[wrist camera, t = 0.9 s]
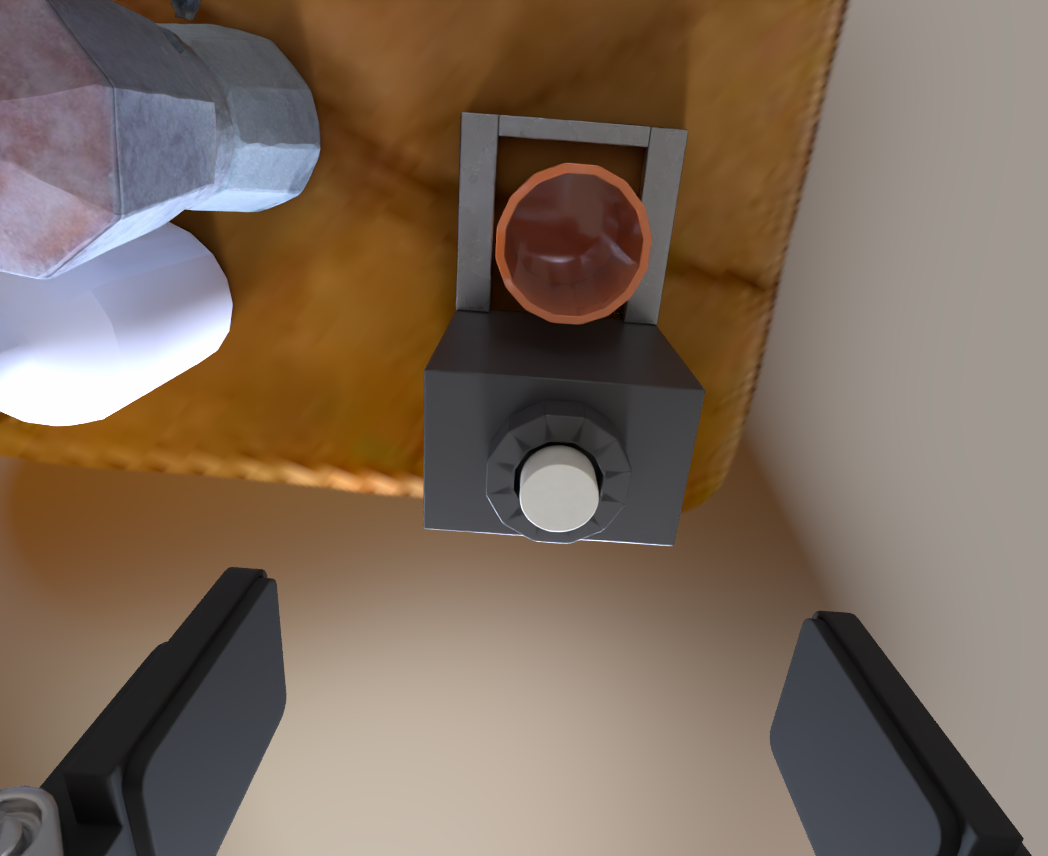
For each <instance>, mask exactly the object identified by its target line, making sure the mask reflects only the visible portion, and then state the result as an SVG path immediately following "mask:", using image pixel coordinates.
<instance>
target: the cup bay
mask: <svg viewBox="0 0 1048 856" xmlns="http://www.w3.org/2000/svg"><path fill="white" fill-rule="evenodd" d="M499 136H501V137H513V138H526V139H539V140H552V141H564V142H577V143H590V144H603V145H615V146H628V147H641V148H645V154H644V161H643V169H642V176H641V183H640V191H639V199H640V201H641V202H642V203H643V205H644V207H645V209H646V213H647V217H648V222H649V226H650V230H651V234H652V244H651V251H650V257H649V264H648V269H647V271H646V273H645V275H644V277H643V278H642V280H641V282H640V284H639V285H638V287H637V289H636V291H635V292H634V294H633V296H632V297H631V298H630V299H629V300H627V301H626V302H625V303H624V307H623V314H622V319H623V321H624V322H625V323H634V324H648V325H657V322H658V316H659V309H660V303H661V297H662V291H663V285H664V279H665V272H666V266H667V260H668V254H669V248H670V241H671V235H672V229H673V223H674V217H675V210H676V204H677V198H678V192H679V186H680V179H681V173H682V167H683V161H684V155H685V148H686V142H687V136H688V130H687V129H675V128H663V127H650V126H638V125H625V124H613V123H600V122H587V121H575V120H562V119H549V118H537V117H524V116H511V115H497V114H485V113H472V112H462V113H461V134H460V172H459V210H458V247H457V285H456V310H459V311H473V312H486V313H488V312H489V311H490V307H491V287H492V267H493V247H494V227H495V206H496V186H497V166H498V146H499Z"/></svg>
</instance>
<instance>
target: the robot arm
mask: <svg viewBox="0 0 1048 856" xmlns="http://www.w3.org/2000/svg"><path fill="white" fill-rule="evenodd" d="M281 640H282V639H281V629H280V617H279V605H278V594H277V584H276V581H275V580H274V579H270V578H267V574H266V572H265V571H264V570H263V569H249V568H237V567H230V568H228V569H227V570H226V571H225V572H224V573H223V574H222V575H221V577H220V578H219V579H218V580H217V582H216V583H215V584H214V585H213V587H212V588H211V589H210V590H209V591H208V593H207V594H206V595H205V596H204V598H203V599H202V600H201V601H200V603H199V604H198V605H197V606H196V608H195V609H194V610H193V611H192V612H191V614H190V615H189V616H188V617H187V619H186V620H185V621H184V622H183V623H182V625H181V626H180V627H179V628H178V630H177V631H176V632H175V633H174V635H173V636H172V637H171V638H170V639H169V641H168V642H164V643H162V644H160V645H158V646H157V647H156V648H155V649H154V650H153V651H152V652H151V653H150V655H149V656H148V657H147V658H146V659H145V661H144V662H143V663H142V664H141V665H140V667H139V668H138V669H137V670H136V672H135V673H134V674H133V675H132V676H131V678H130V679H129V680H128V681H127V682H126V684H125V685H124V686H123V687H122V688H121V690H120V691H119V692H118V693H117V694H116V696H115V697H114V698H113V699H112V701H111V702H110V703H109V704H108V706H107V707H106V708H105V709H104V710H103V711H102V713H101V714H100V715H99V716H98V717H97V719H96V720H95V721H94V723H93V724H92V725H91V726H90V727H89V728H88V730H87V731H86V732H85V733H84V734H83V736H82V737H81V738H80V739H79V740H78V742H77V743H76V744H75V745H74V746H73V748H72V749H71V750H70V751H69V753H68V754H67V755H66V756H65V757H64V759H63V760H62V761H61V762H60V763H59V765H58V766H57V767H56V768H55V769H54V771H53V772H52V773H51V774H50V776H49V777H48V778H47V779H46V781H45V782H44V783H43V784H42V785H41V786H40V788H36V787H30V786H21V787H12V788H4V789H1V790H0V856H216V854H217V852H218V850H219V848H220V846H221V844H222V842H223V840H224V838H225V836H226V833H227V831H228V829H229V827H230V825H231V823H232V821H233V819H234V817H235V815H236V812H237V810H238V808H239V806H240V804H241V802H242V800H243V798H244V796H245V794H246V791H247V790H248V787H249V785H250V783H251V781H252V779H253V777H254V775H255V773H256V771H257V769H258V766H259V764H260V762H261V760H262V758H263V756H264V754H265V752H266V750H267V748H268V746H269V744H270V741H271V739H272V737H273V735H274V733H275V731H276V729H277V727H278V725H279V722H280V720H281V718H282V716H283V713H284V709H285V704H286V686H285V675H284V663H283V651H282V641H281ZM770 745H771V749H772V752H773V755H774V758H775V760H776V762H777V765H778V767H779V770H780V772H781V774H782V776H783V779H784V781H785V784H786V786H787V788H788V791H789V793H790V796H791V798H792V800H793V803H794V805H795V807H796V810H797V812H798V815H799V817H800V819H801V822H802V824H803V826H804V829H805V831H806V834H807V836H808V838H809V841H810V843H811V845H812V848H813V850H814V852H815V855H816V856H1031V854H1030V853H1029V851H1028V850H1027V849H1026V847H1025V846H1024V845H1023V843H1022V841H1023V837H1022V836H1021V834H1020V833H1019V832H1018V830H1017V829H1016V828H1015V826H1014V825H1013V824H1012V822H1011V821H1010V820H1009V818H1008V817H1007V816H1006V815H1005V813H1004V812H1003V810H1002V809H1001V808H1000V807H999V805H998V804H997V802H996V801H995V800H994V798H993V797H992V796H991V794H990V793H989V792H988V791H987V789H986V788H985V787H984V785H983V784H982V783H981V781H980V780H979V779H978V777H977V776H976V775H975V773H974V772H973V771H972V769H971V768H970V767H969V765H968V764H967V763H966V761H965V760H964V759H963V757H962V756H961V755H960V753H959V752H958V751H957V749H956V748H955V747H954V745H953V744H952V743H951V741H950V740H949V739H948V737H947V736H946V735H945V733H944V732H943V731H942V729H941V728H940V727H939V725H938V724H937V723H936V721H934V719H933V717H932V716H931V715H930V714H929V712H928V711H927V709H926V708H925V707H924V705H923V704H922V703H921V702H920V700H919V699H918V697H917V696H916V695H915V694H914V692H913V691H912V689H911V688H910V687H909V686H908V684H907V683H906V682H905V680H904V679H903V678H902V676H901V675H900V674H899V672H898V671H897V670H896V668H895V667H894V666H893V664H892V663H891V662H890V660H889V659H888V658H887V656H886V655H885V654H884V652H883V651H882V650H881V648H880V647H879V646H878V644H877V643H876V642H875V640H874V639H873V638H872V636H871V635H870V634H869V633H868V631H867V630H866V628H865V627H864V626H863V624H862V623H861V622H860V620H859V619H858V618H857V617H856V616H855V615H854V614H851V613H844V612H830V611H817V612H816V613H815V614H814V615H813V617H812V619H811V618H808V619H806V620H805V621H804V622H803V625H802V628H801V631H800V634H799V638H798V641H797V644H796V647H795V651H794V654H793V657H792V661H791V664H790V667H789V670H788V674H787V677H786V680H785V684H784V687H783V690H782V693H781V697H780V700H779V703H778V707H777V710H776V713H775V717H774V720H773V723H772V726H771V730H770Z"/></svg>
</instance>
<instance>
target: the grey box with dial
mask: <svg viewBox="0 0 1048 856" xmlns="http://www.w3.org/2000/svg"><path fill="white" fill-rule="evenodd" d="M704 394H705V389H704V388H703V387H702V385H701V384H700V383H699V381H698V380H697V379H696V377H695V376H694V375H693V373H692V372H691V371H690V369H689V368H688V367H687V365H686V364H685V363H684V361H683V360H682V359H681V357H680V356H679V355H678V354H677V352H676V351H675V350H674V348H673V347H672V346H671V344H670V343H669V342H668V340H667V339H666V338H665V336H664V335H663V334H662V332H661V331H660V330H659V328H658V327H657V326H656V325H648V324H634V323H625V322H624V321H623V320H621V319H608V318H600V319H597V320H594V321H591V322H588V323H585V324H582V325H574V324H561V323H551V322H548V321H546V320H544V319H542V318H540V317H539V316H537V315H535V314H533V313H527V312H514V311H500V310H490V311H489V312H488V313H486V312H473V311H459V310H456V312H455V314H454V316H453V318H452V320H451V322H450V323H449V325H448V327H447V329H446V331H445V333H444V335H443V336H442V338H441V340H440V342H439V344H438V346H437V348H436V349H435V351H434V353H433V355H432V357H431V359H430V361H429V362H428V364H427V366H426V368H425V370H424V501H423V502H424V503H423V504H424V506H423V527H424V529H433V530H448V531H462V532H476V533H491V534H505V535H519V536H525V537H527V538H529V539H530V540H532V541H536V542H550V543H564V544H569V543H573V542H576V541H578V540H593V541H606V542H621V543H635V544H649V545H663V546H673V545H674V542H675V537H676V532H677V527H678V522H679V517H680V512H681V508H682V503H683V498H684V493H685V488H686V483H687V478H688V473H689V468H690V463H691V458H692V453H693V448H694V443H695V438H696V433H697V428H698V424H699V419H700V414H701V409H702V404H703V399H704ZM554 445H562V446H568V447H572V448H574V449H577V450H578V451H580V452H581V453H583V454H584V455H585V456H586V457H587V458H588V459H589V460H590V462H591V464H592V465H593V468H594V471H595V476H596V481H597V486H598V491H599V502H598V506H597V509H596V511H595V513H594V514H593V516H592V517H591V518H590V519H589V520H588V521H587V522H586V523H585V524H584V525H582V526H580V527H578V528H576V529H574V530H571V531H566V532H552V531H547V530H544V529H541V528H539V527H537V526H536V525H534V524H533V523H532V522H531V521H530V520H529V519H528V518H527V517H526V516H525V514H524V513H523V510H522V508H521V505H520V477H521V471H522V468H523V466H524V464H525V462H526V461H527V460H528V458H529V457H530V456H531V455H532V454H534V453H535V452H537V451H538V450H540V449H542V448H545V447H548V446H554Z"/></svg>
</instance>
